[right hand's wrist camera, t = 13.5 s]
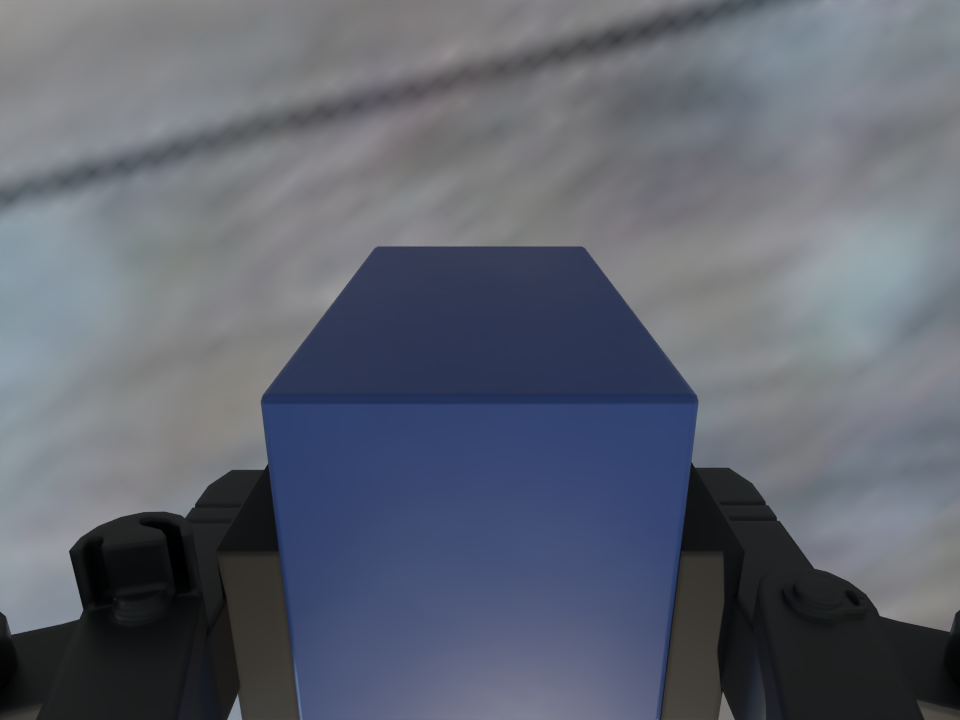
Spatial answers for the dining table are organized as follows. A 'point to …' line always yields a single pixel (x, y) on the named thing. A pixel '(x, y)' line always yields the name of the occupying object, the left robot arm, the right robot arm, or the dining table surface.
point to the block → (479, 492)
